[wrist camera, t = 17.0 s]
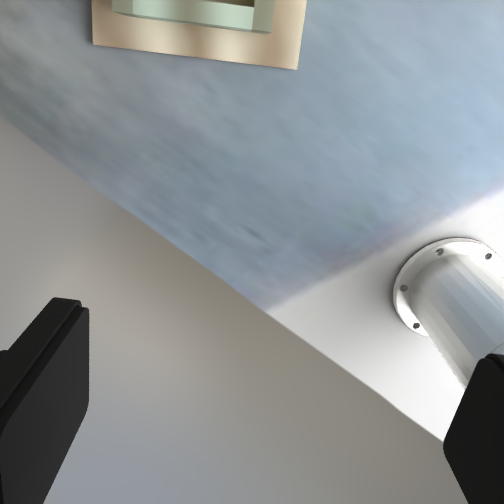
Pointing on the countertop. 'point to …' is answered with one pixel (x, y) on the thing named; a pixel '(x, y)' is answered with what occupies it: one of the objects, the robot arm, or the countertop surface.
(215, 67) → the countertop surface
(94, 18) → the tray
